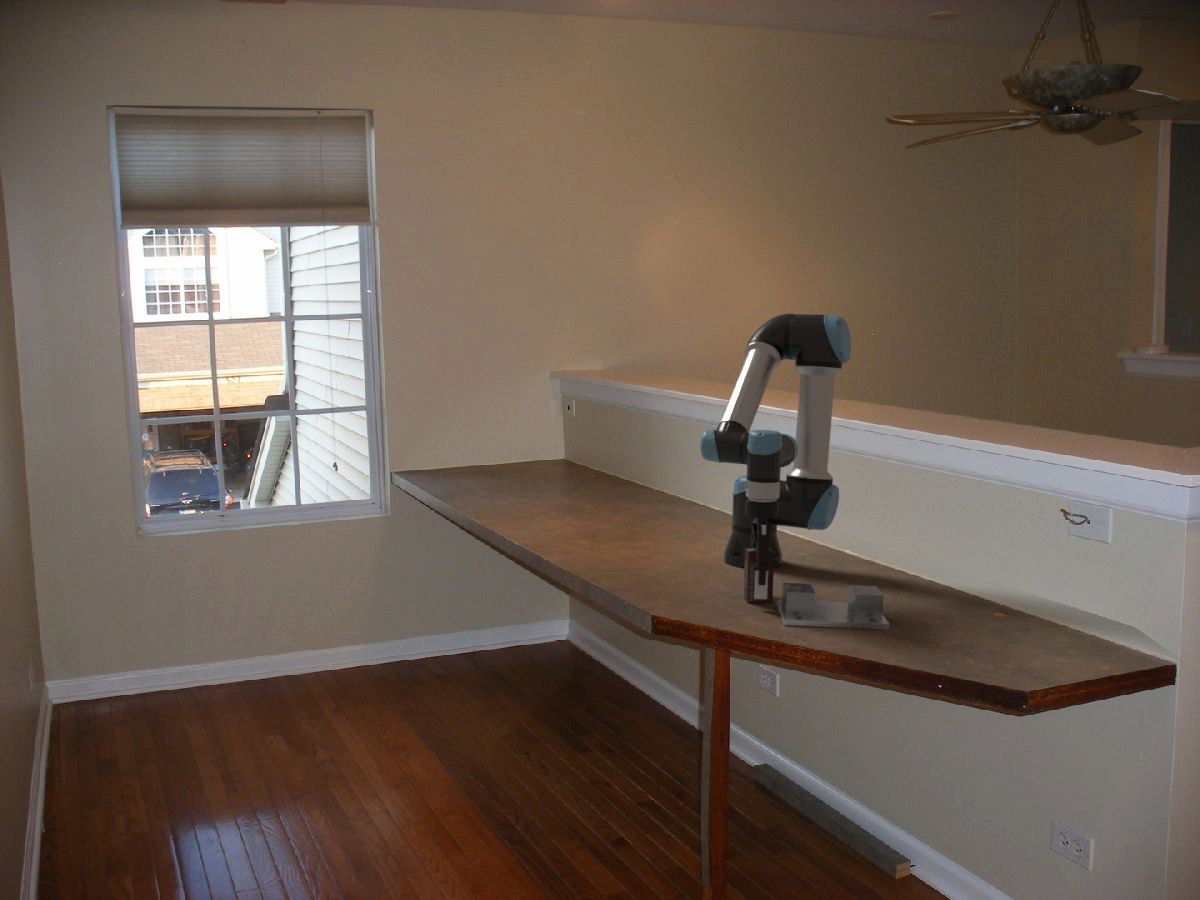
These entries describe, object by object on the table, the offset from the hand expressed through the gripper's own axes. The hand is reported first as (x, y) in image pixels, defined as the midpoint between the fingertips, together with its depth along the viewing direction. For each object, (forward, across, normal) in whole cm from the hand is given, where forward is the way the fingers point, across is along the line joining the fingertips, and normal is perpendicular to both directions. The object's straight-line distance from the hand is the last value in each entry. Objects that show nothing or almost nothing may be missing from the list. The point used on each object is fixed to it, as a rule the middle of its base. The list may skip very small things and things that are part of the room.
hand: (757, 590), depth 262 cm
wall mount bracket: (+2, +11, +15) cm, 19 cm away
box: (+2, 0, 0) cm, 2 cm away
